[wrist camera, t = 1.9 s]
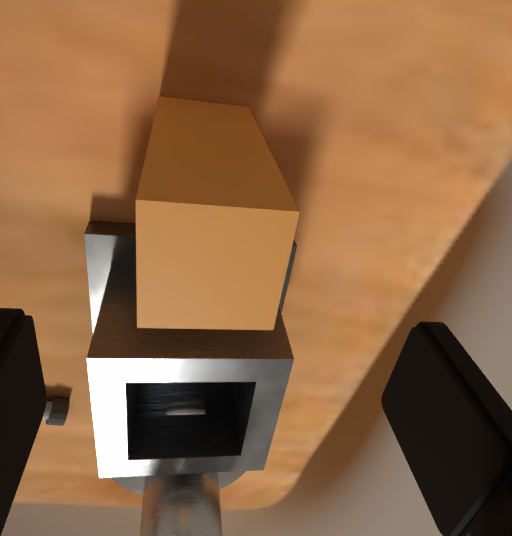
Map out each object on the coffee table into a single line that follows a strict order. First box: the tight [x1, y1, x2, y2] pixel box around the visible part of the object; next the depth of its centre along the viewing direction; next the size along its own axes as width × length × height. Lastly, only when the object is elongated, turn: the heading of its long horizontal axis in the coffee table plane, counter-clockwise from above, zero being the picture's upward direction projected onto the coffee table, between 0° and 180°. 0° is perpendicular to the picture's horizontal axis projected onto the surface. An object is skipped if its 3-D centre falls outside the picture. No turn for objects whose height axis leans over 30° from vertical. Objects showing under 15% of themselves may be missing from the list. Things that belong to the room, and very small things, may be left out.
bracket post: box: [84, 221, 297, 536], centre depth 24 cm, size 20×12×16 cm, turn 171°
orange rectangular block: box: [136, 96, 300, 330], centre depth 18 cm, size 4×4×12 cm
